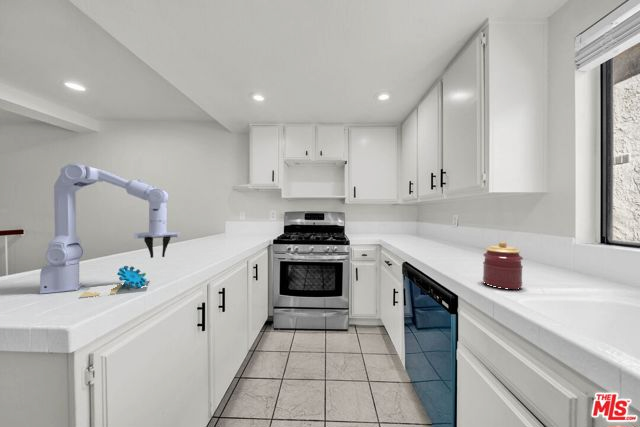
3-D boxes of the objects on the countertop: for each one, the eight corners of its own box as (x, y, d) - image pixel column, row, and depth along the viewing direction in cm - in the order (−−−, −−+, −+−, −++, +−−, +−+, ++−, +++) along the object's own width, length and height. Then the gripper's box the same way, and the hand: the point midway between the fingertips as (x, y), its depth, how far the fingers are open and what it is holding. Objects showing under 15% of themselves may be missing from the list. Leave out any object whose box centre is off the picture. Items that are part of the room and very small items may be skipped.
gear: (129, 287, 91) (114, 265, 93) (117, 299, 91) (102, 277, 93) (154, 283, 101) (140, 263, 103) (143, 294, 102) (130, 274, 104)
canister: (479, 285, 105) (480, 241, 105) (486, 279, 115) (487, 238, 115) (520, 292, 97) (521, 244, 96) (524, 285, 106) (525, 241, 106)
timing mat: (78, 300, 84) (78, 298, 84) (91, 287, 97) (91, 286, 97) (146, 292, 93) (146, 290, 93) (149, 282, 106) (149, 280, 106)
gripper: (133, 221, 93) (132, 260, 94) (179, 221, 100) (179, 257, 100) (135, 220, 100) (135, 257, 100) (179, 220, 107) (179, 254, 107)
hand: (157, 257), depth 101 cm, fingers open, 3 cm apart
